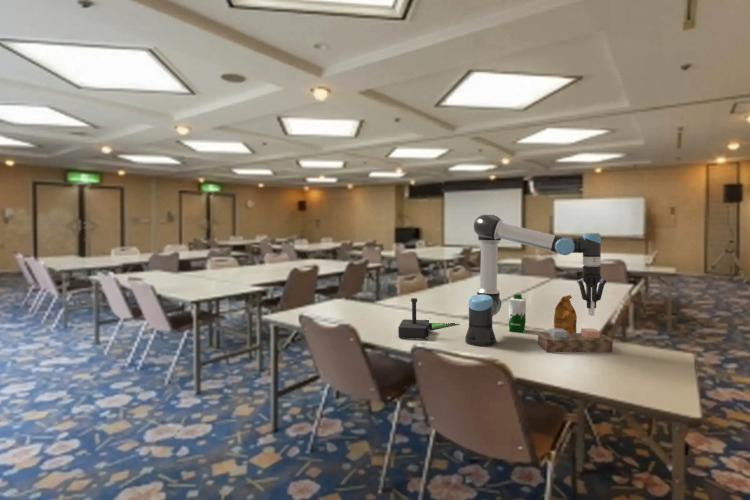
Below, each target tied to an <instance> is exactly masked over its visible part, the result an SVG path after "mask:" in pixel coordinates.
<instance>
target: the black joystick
mask: <svg viewBox="0 0 750 500" xmlns="http://www.w3.org/2000/svg"><path fill="white" fill-rule="evenodd" d="M410 302H411V319H407V318H406V319H405V318H404V319H402V320H401V322H400V323H399V325H398V328H397V330H398V332H397V333H398V338H399V339H407V338H414V339H413V340H426V339H427V338H428V337H429V335H430V331H433V330H432V323H429V320H426V319H417V303H418V298H417V297H411V298H410Z"/></svg>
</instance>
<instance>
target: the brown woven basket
mask: <svg viewBox="0 0 750 500" xmlns="http://www.w3.org/2000/svg"><path fill="white" fill-rule="evenodd" d="M538 345H539V347H540V348H541V349H542V350H543V351H545V353H613V352H614V350H613V349H614V339H612V338H611V337H609V336H607V335H605V334H603V333H601V332H600V338H585V337H583V336H582V335H581V332H576V333H567V338H553V337H551V336H550V335H549V332H538V333H537V346H538Z"/></svg>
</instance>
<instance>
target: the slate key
mask: <svg viewBox="0 0 750 500" xmlns="http://www.w3.org/2000/svg"><path fill="white" fill-rule="evenodd" d="M548 333H549V335H550V336H551V337H553V338H567V331H565V330H564V329H562V328H554V327H553V328H552V327H551V328H549V332H548Z"/></svg>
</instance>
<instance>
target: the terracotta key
mask: <svg viewBox="0 0 750 500" xmlns="http://www.w3.org/2000/svg"><path fill="white" fill-rule="evenodd" d="M580 333H581V335H582V336H583V337H585V338H600V333H601V331H599V330H598V329H595V328H594V327H593V328H592V327H591V328H589V327H588V328H586V327H585V328H584V327H583V328H582V327H581V328H580Z"/></svg>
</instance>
